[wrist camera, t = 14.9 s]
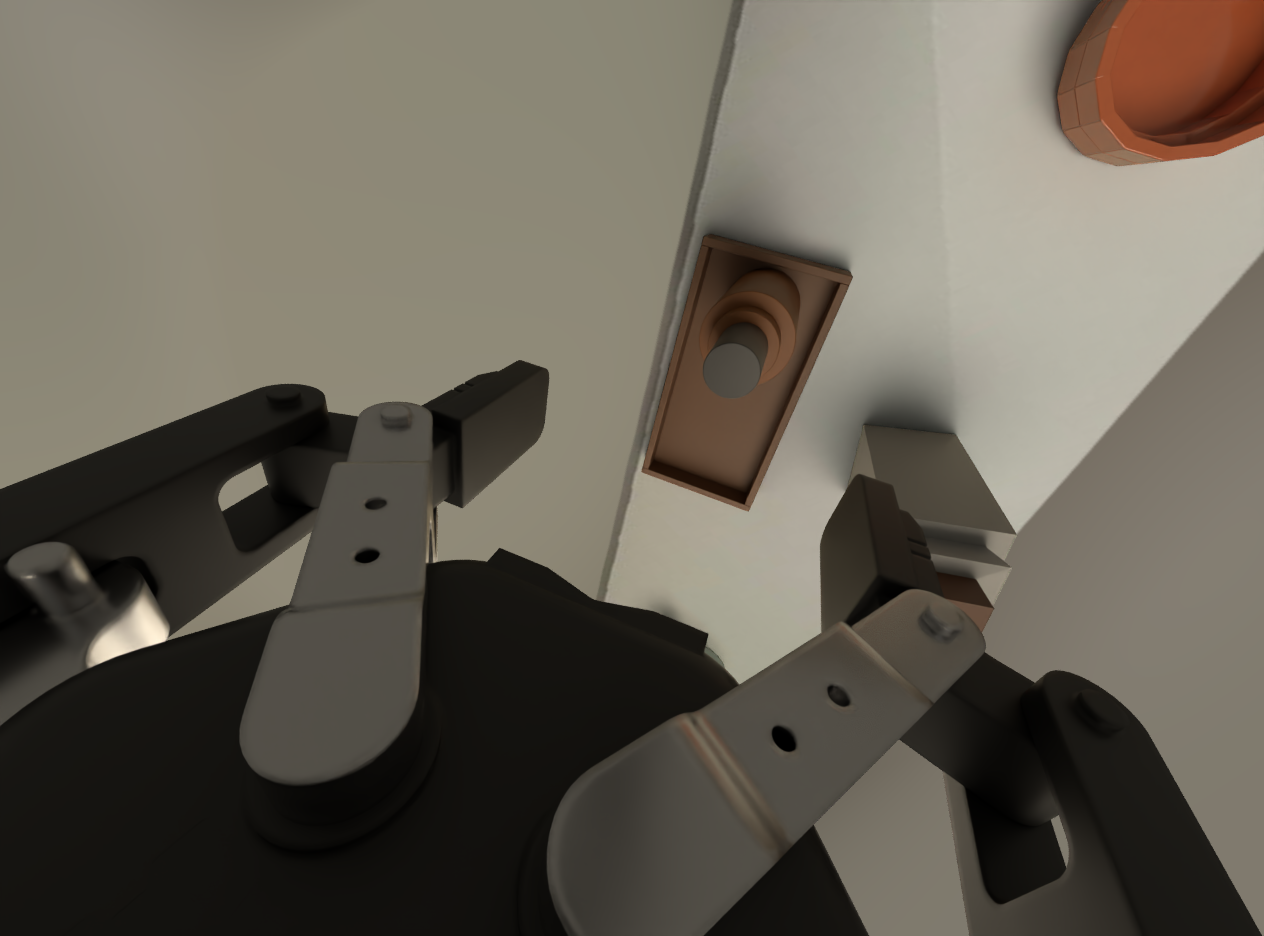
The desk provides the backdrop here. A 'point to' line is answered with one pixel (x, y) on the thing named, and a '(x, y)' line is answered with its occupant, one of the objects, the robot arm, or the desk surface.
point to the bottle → (750, 332)
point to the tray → (750, 425)
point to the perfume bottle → (944, 510)
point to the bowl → (1165, 80)
